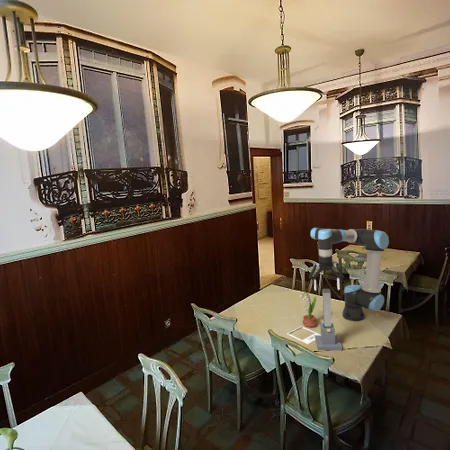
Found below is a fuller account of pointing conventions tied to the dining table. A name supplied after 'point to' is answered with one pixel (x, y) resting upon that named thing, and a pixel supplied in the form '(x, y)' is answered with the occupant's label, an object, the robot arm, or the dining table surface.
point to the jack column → (327, 308)
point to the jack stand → (328, 339)
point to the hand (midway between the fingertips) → (326, 289)
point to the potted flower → (309, 319)
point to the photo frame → (308, 339)
